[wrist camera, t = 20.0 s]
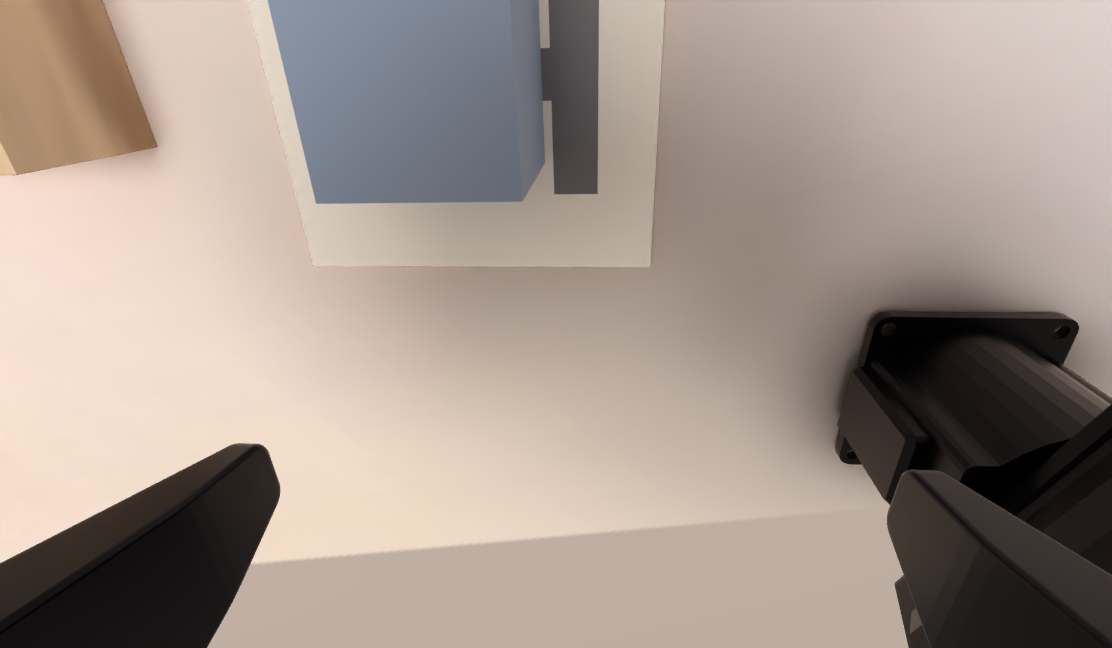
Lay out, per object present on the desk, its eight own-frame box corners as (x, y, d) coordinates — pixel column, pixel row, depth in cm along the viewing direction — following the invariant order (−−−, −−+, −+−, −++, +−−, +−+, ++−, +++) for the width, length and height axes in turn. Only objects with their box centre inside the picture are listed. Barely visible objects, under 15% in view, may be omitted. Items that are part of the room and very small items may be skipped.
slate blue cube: (537, -26, 14) (506, -63, 10) (544, 163, 17) (522, 201, 12) (361, -17, 15) (255, -49, 10) (391, 165, 17) (315, 203, 13)
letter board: (673, -199, 13) (676, -209, 12) (648, 261, 18) (650, 267, 18) (218, -165, 14) (202, -174, 14) (321, 260, 20) (313, 265, 19)
